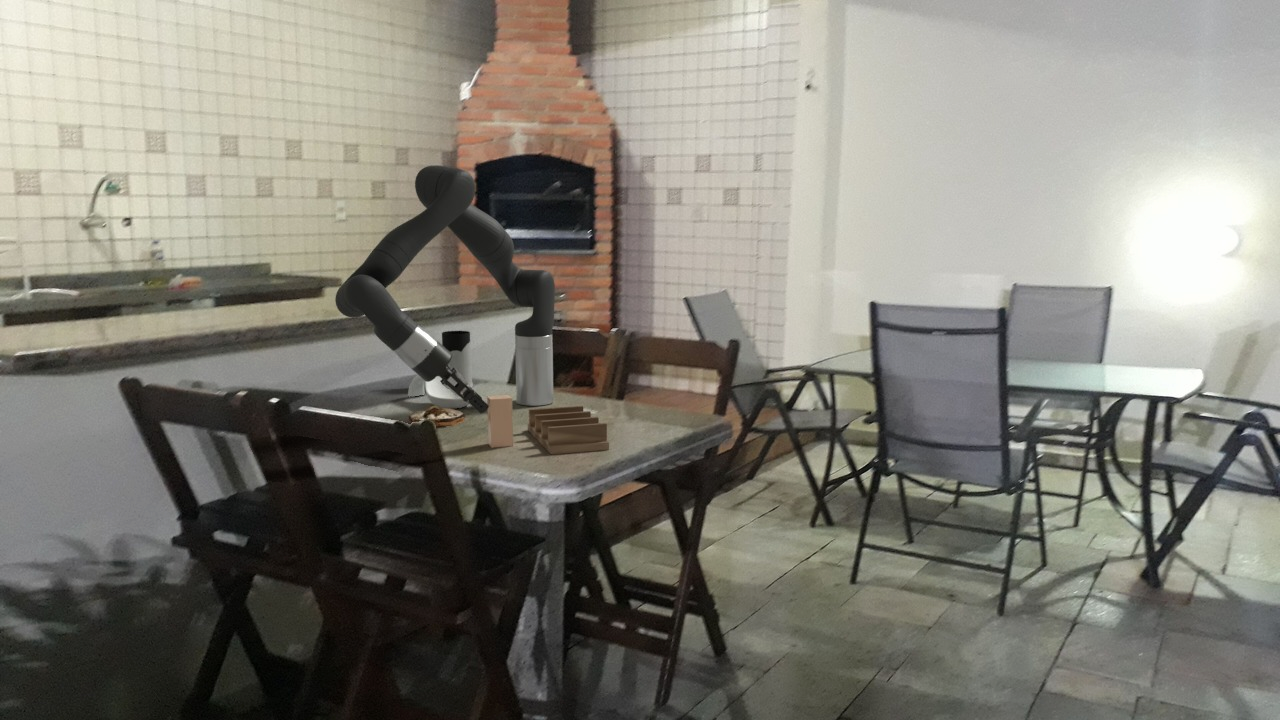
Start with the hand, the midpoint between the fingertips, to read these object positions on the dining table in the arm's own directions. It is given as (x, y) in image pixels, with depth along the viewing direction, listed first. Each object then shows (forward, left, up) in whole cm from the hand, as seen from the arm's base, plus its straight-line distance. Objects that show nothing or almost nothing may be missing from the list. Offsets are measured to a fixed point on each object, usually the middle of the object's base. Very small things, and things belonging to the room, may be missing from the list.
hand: (482, 406), depth 191 cm
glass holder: (-69, +2, -9) cm, 69 cm away
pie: (-26, -6, -9) cm, 28 cm away
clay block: (0, +4, -8) cm, 9 cm away
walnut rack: (0, +18, -8) cm, 19 cm away
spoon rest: (-47, -3, -9) cm, 48 cm away
